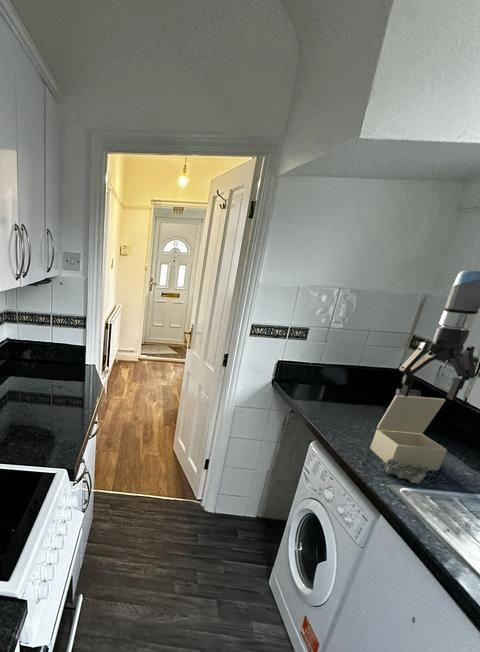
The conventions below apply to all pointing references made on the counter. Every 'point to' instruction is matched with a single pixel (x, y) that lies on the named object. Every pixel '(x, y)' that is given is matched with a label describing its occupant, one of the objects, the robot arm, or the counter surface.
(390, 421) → the box lid
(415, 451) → the beige open box
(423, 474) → the egg carton
